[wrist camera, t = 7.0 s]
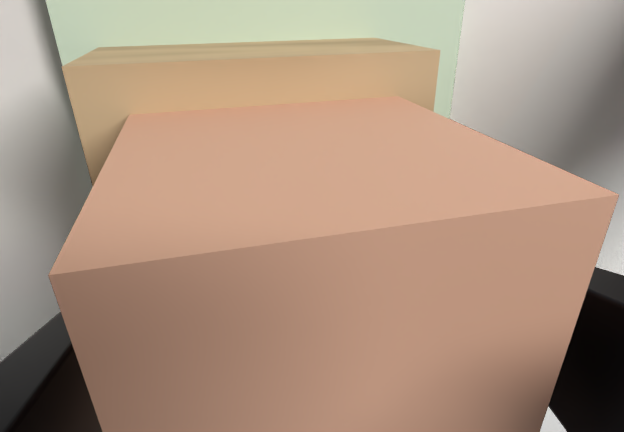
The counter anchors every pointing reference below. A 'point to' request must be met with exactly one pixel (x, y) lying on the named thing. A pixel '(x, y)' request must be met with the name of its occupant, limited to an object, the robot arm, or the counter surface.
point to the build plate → (261, 25)
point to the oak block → (236, 80)
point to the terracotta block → (325, 273)
